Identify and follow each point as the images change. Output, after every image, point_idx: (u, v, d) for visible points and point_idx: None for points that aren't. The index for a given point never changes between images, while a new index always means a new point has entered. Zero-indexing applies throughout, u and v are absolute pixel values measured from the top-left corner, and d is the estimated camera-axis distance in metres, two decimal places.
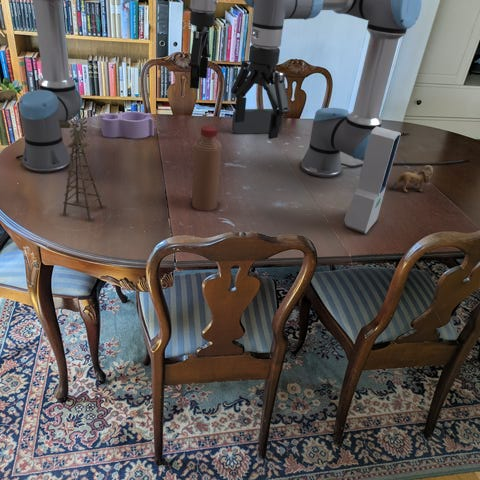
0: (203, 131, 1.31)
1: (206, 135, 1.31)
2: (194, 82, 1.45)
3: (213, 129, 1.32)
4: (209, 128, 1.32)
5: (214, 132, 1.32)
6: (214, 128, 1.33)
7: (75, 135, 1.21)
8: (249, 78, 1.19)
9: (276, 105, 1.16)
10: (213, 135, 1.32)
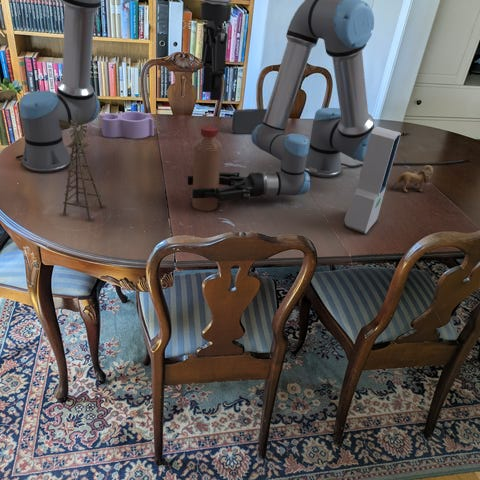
0: (203, 131, 1.31)
1: (206, 135, 1.31)
2: None
3: (213, 129, 1.32)
4: (209, 128, 1.32)
5: (214, 132, 1.32)
6: (214, 128, 1.33)
7: (75, 135, 1.21)
8: None
9: None
10: (213, 135, 1.32)
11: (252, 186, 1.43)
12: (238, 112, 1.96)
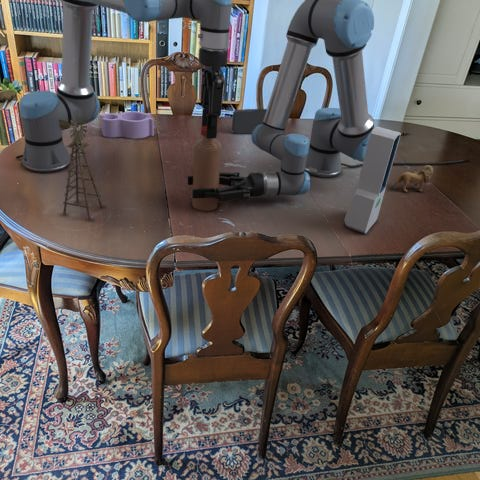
0: (203, 131, 1.31)
1: None
2: None
3: None
4: None
5: None
6: None
7: (75, 135, 1.21)
8: None
9: None
10: None
11: (252, 186, 1.43)
12: (238, 112, 1.96)
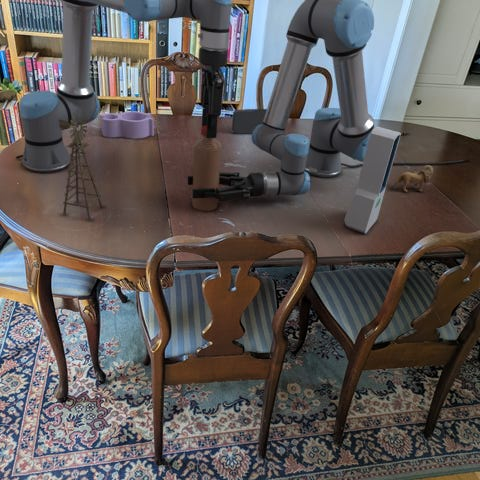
0: None
1: None
2: None
3: None
4: None
5: None
6: None
7: (75, 135, 1.21)
8: None
9: None
10: None
11: (252, 186, 1.43)
12: (238, 112, 1.96)
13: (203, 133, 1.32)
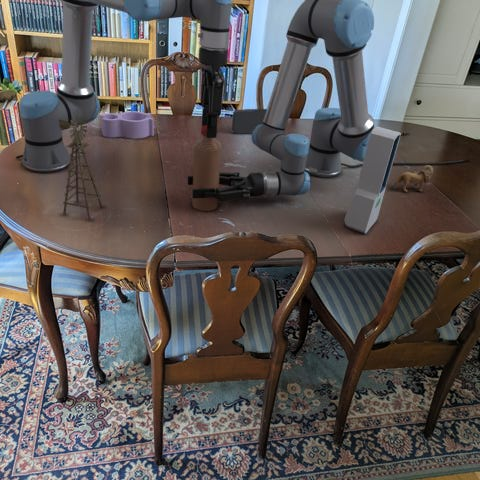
0: None
1: None
2: None
3: (206, 125, 1.33)
4: None
5: None
6: (204, 126, 1.33)
7: (75, 135, 1.21)
8: None
9: None
10: None
11: (252, 186, 1.43)
12: (238, 112, 1.96)
13: None
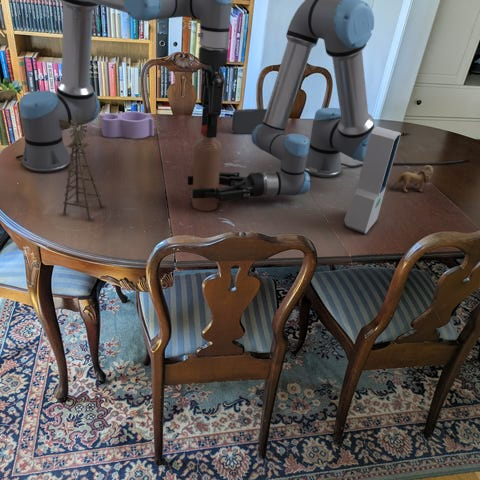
0: None
1: None
2: None
3: (204, 127, 1.32)
4: None
5: (201, 129, 1.32)
6: (205, 128, 1.31)
7: (75, 135, 1.21)
8: None
9: None
10: (201, 131, 1.33)
11: (252, 186, 1.43)
12: (238, 112, 1.96)
13: None
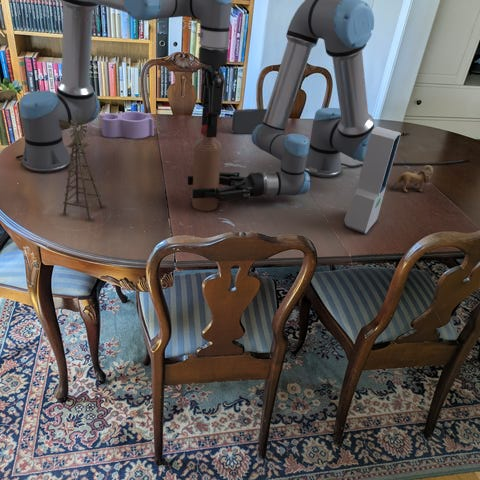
0: None
1: (201, 132, 1.32)
2: None
3: None
4: None
5: None
6: None
7: (75, 135, 1.21)
8: None
9: None
10: None
11: (252, 186, 1.43)
12: (238, 112, 1.96)
13: None
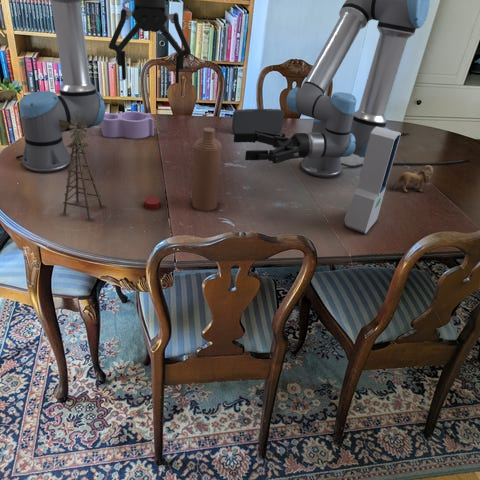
0: (157, 204, 1.40)
1: (159, 205, 1.42)
2: None
3: (154, 198, 1.42)
4: (153, 200, 1.41)
5: None
6: (151, 198, 1.42)
7: (75, 135, 1.21)
8: None
9: None
10: None
11: (298, 146, 1.40)
12: (238, 112, 1.96)
13: (148, 207, 1.40)
